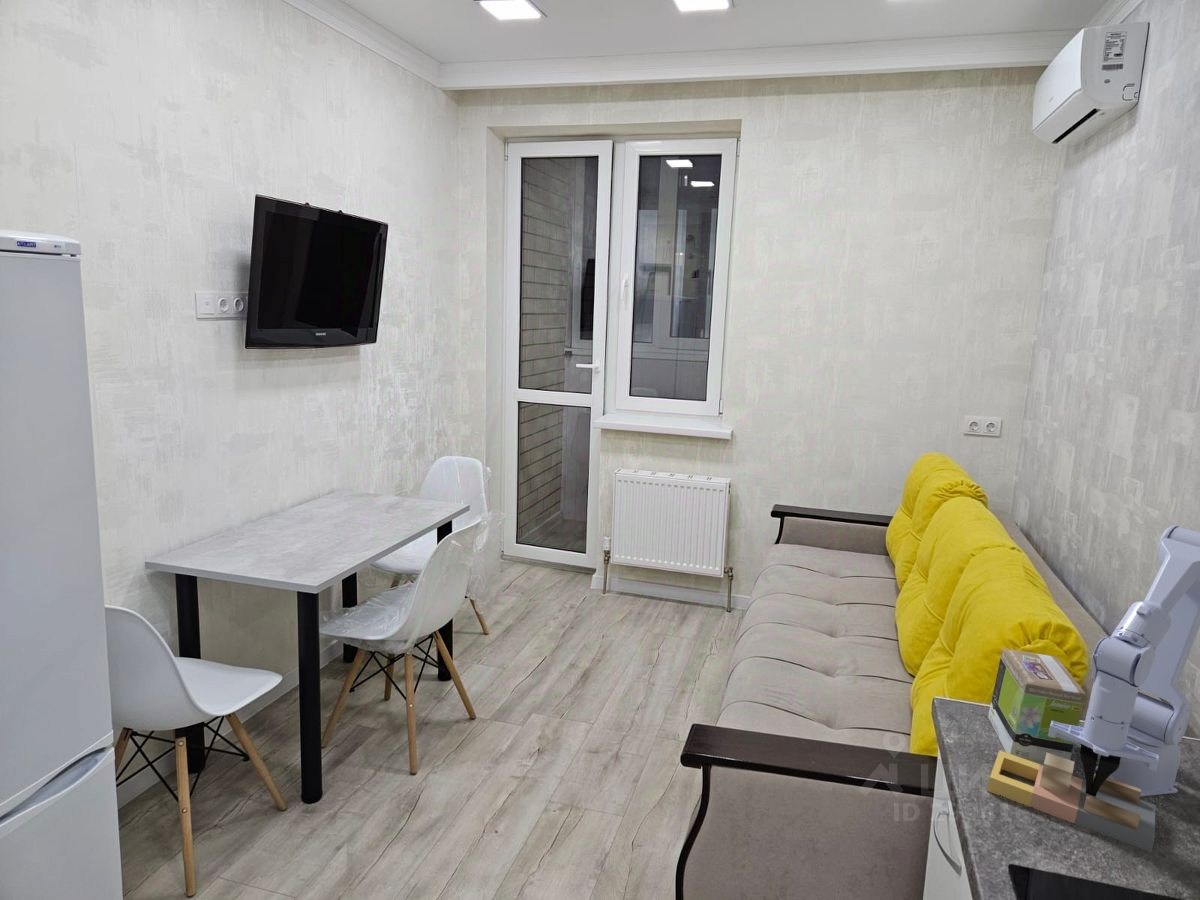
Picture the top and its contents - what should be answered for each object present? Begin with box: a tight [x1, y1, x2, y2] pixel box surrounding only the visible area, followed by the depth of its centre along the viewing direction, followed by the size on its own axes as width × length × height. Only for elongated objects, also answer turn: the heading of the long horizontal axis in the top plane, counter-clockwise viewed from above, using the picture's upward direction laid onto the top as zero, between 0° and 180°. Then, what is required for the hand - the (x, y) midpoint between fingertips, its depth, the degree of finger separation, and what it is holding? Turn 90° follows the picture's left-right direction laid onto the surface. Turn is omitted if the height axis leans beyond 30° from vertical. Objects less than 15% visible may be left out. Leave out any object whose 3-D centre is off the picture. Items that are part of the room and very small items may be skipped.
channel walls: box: [1084, 772, 1141, 829], centre depth 127 cm, size 7×9×2 cm
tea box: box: [987, 648, 1086, 766], centre depth 147 cm, size 15×10×15 cm, turn 168°
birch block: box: [1039, 753, 1075, 796], centre depth 131 cm, size 4×4×4 cm
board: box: [986, 750, 1156, 853], centre depth 130 cm, size 22×10×2 cm, turn 56°
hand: (1090, 792), depth 129 cm, fingers closed
